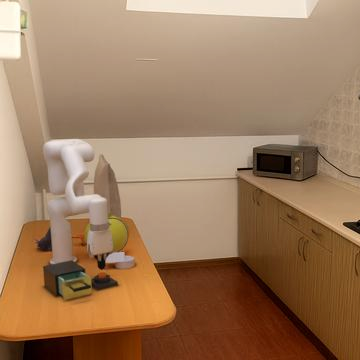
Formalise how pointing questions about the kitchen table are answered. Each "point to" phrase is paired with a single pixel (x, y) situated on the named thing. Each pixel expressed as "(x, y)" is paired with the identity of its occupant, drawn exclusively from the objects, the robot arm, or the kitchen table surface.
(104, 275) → the button
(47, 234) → the dragon figurine
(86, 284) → the tray
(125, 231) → the toy
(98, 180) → the pillow
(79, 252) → the kitchen table surface
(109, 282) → the control block
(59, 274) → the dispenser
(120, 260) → the wedge on round base
